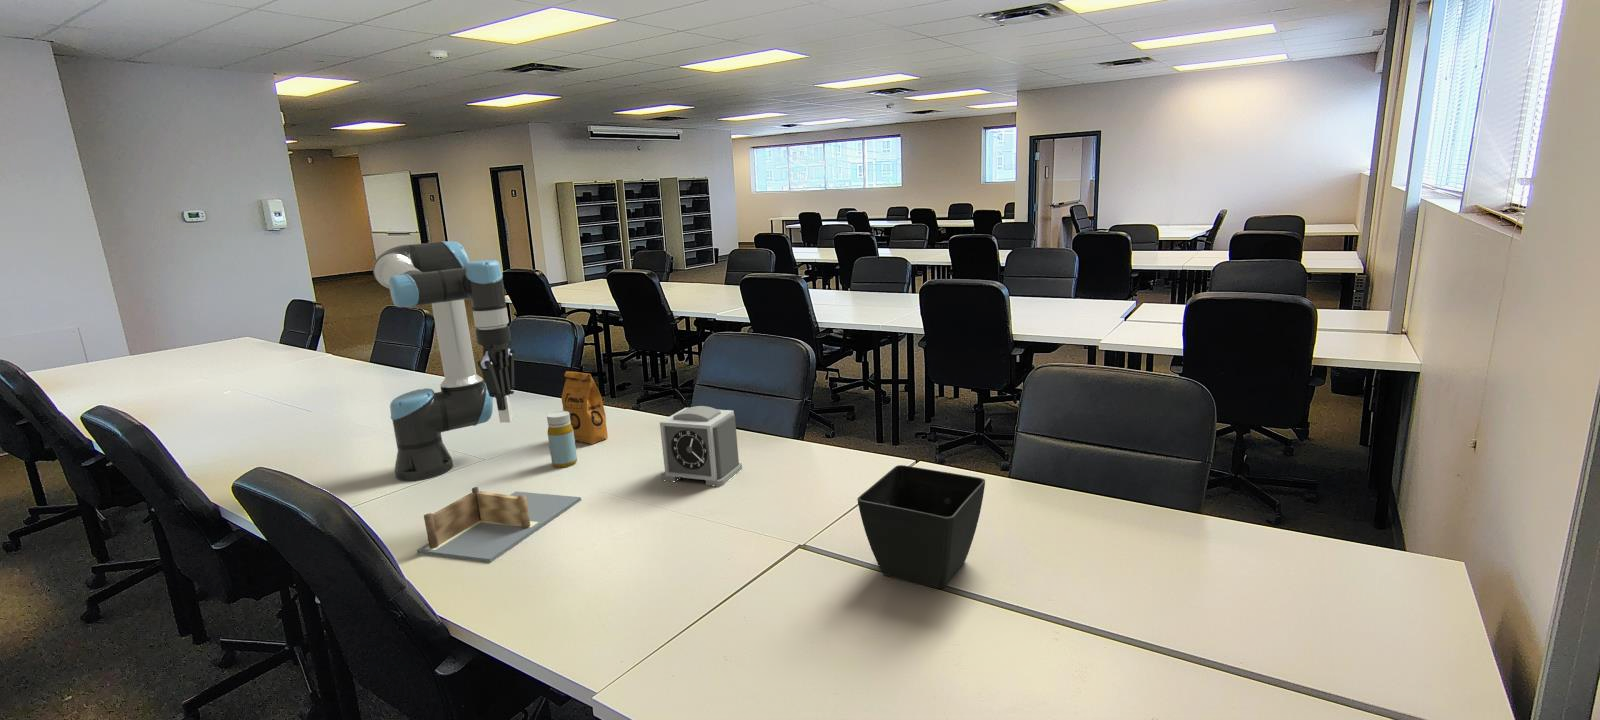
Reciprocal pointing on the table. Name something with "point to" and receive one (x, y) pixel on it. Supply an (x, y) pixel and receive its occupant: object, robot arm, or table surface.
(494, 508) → the panel
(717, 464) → the alarm clock
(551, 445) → the bottle
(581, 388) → the coffee package
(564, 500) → the board
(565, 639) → the table surface
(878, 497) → the flower pot
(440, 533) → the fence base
